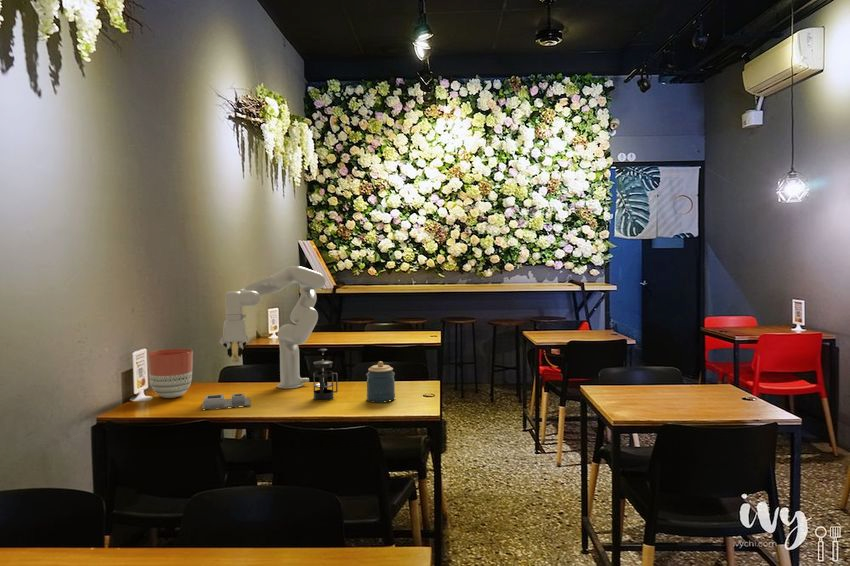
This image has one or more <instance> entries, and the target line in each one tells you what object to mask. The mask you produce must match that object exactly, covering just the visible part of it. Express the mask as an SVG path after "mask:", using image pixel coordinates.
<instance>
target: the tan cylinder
mask: <svg viewBox="0 0 850 566" xmlns="http://www.w3.org/2000/svg"><path fill="white" fill-rule="evenodd" d="M239 348H240V343H239V342H236V341H234V342H230V349H231V357H230V362H231V363H237V362H240V360H241V357H239Z"/></svg>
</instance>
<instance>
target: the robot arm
mask: <svg viewBox="0 0 850 566" xmlns="http://www.w3.org/2000/svg"><path fill="white" fill-rule="evenodd" d="M292 284H298V286H299V288H300V297H299V298H298V300H297V302H296V303H295V306H294V307H293V309H292V311H291V313H290V315H289V319H290V321H291V322H292V323H294V324H292V323H286V324H282V325H281V326H280V327H279V329H278V331H277V339H278V340H277V341H278V345H279V346H278V347H279V372H280V373H279V375H280V376H279V377H280V378H279V379H280V382H279V383H277V386H276V387H277V388H279V389H284V390H285V389H286V390H289V389H299V388H301V387H303V385H304V383H309V382H310V378H309V377H301V375H300V348H299V345H303V344H304V343H306V342H307V341H308V339H309V338H310V336H311V334H312V332H313V330H314V328H315V326H317V323H318V320H319V313H318V311H317V310H316V309H315V308H314V307H315V305H316V303H317V297H318V296H317V292H316V291H317V290H322V289H323V288H324V286H325V285H326V278H325V276H324V275H323V274H322V273H320V272H318V271H315V270H312V269H309V268H307V267H304V266H300V265H289V266H286V267H284V268H283V269H281V270H278V271H277V272H275V273H273V274H272V275H270V276H268V277H264V278H262V279H260V280H258V281H254V282H252V283H250V284H248V285H246V286H244V287H242V288H240V289H239V290H236V291H234V290H233V291H232V290H231V291H227V292H225V295H224V298H225V300H224V301H225V303H224V304H225V320H223V321H224V322H223V330H222V331H223V333H222V336H221V338H220V340H219V341H218V343H219V344H220V345H222V346H224V347H225V348H226V349H227V350H226V351H227V356H228V358H231V349H230V342H234V341H236V342H239V357H240V358H241V357H242V355H243V351H244V350H243V348H244V347H245V346H246V345H247V344H249V343H250V342H251V339H250V338H249V336H248V335H247V331H246V329H247V328H246V323H245V320H244V319H245V318H247V315H246V314H243V306H244V307H255V306H257V305H258V304H259V303H260V301H261V296H262V297H263V296H265V295H271V294H276V293H278V292H280V291H282V290H283V289H285V288H286V287H288V286H290V285H292Z"/></svg>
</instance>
